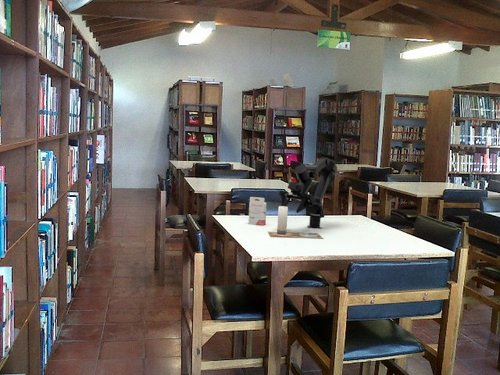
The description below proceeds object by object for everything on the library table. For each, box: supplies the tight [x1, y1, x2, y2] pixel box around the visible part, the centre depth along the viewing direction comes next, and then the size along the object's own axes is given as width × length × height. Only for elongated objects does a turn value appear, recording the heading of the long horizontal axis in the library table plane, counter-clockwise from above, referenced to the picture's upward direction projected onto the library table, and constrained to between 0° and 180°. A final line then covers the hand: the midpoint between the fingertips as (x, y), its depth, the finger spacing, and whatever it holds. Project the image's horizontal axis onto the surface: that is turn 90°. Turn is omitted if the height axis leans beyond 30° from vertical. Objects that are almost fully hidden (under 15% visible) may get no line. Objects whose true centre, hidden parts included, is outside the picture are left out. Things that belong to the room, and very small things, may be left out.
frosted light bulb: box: [276, 205, 289, 235], centre depth 244 cm, size 4×4×13 cm
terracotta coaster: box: [272, 231, 291, 237], centre depth 245 cm, size 9×9×1 cm
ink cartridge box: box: [247, 196, 267, 226], centre depth 274 cm, size 9×5×15 cm, turn 74°
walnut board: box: [267, 231, 324, 240], centre depth 245 cm, size 13×25×1 cm, turn 95°
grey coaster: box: [299, 232, 318, 239], centre depth 246 cm, size 9×9×1 cm
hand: (288, 211), depth 247 cm, fingers open, 9 cm apart
